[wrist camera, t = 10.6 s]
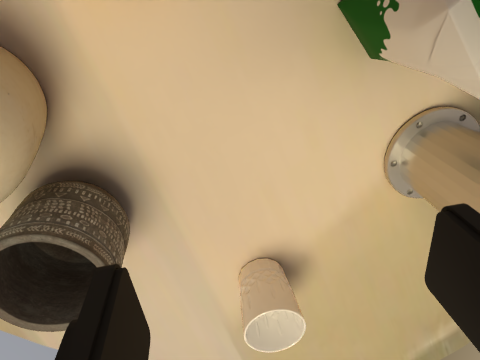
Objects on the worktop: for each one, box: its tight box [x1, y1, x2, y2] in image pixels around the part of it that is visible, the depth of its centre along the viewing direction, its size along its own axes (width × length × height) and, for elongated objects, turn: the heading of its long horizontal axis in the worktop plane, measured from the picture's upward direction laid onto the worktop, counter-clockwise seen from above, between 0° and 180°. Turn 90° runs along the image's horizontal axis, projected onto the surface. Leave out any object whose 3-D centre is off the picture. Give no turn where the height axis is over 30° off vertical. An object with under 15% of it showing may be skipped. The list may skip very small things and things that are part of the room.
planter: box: [0, 181, 130, 332], centre depth 37 cm, size 12×12×13 cm
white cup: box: [239, 258, 306, 352], centre depth 47 cm, size 8×8×10 cm
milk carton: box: [337, 0, 480, 100], centre depth 27 cm, size 9×9×20 cm
